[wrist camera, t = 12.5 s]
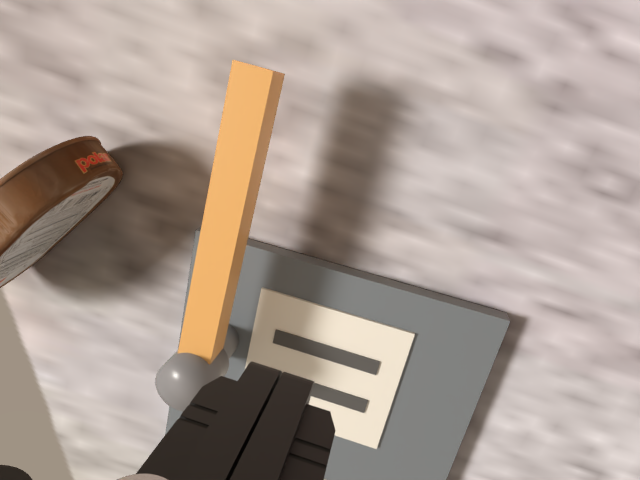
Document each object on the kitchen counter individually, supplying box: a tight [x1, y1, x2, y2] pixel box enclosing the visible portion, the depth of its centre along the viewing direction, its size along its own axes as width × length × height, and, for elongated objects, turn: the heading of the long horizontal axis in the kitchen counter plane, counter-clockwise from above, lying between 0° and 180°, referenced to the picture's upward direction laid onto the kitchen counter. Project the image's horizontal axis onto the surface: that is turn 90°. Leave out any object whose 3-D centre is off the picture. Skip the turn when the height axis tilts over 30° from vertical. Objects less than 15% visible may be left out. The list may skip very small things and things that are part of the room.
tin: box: [0, 136, 123, 288], centre depth 28 cm, size 15×3×8 cm, turn 128°
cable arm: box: [155, 60, 285, 411], centre depth 25 cm, size 19×3×3 cm, turn 165°
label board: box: [165, 228, 510, 480], centre depth 32 cm, size 20×26×4 cm
